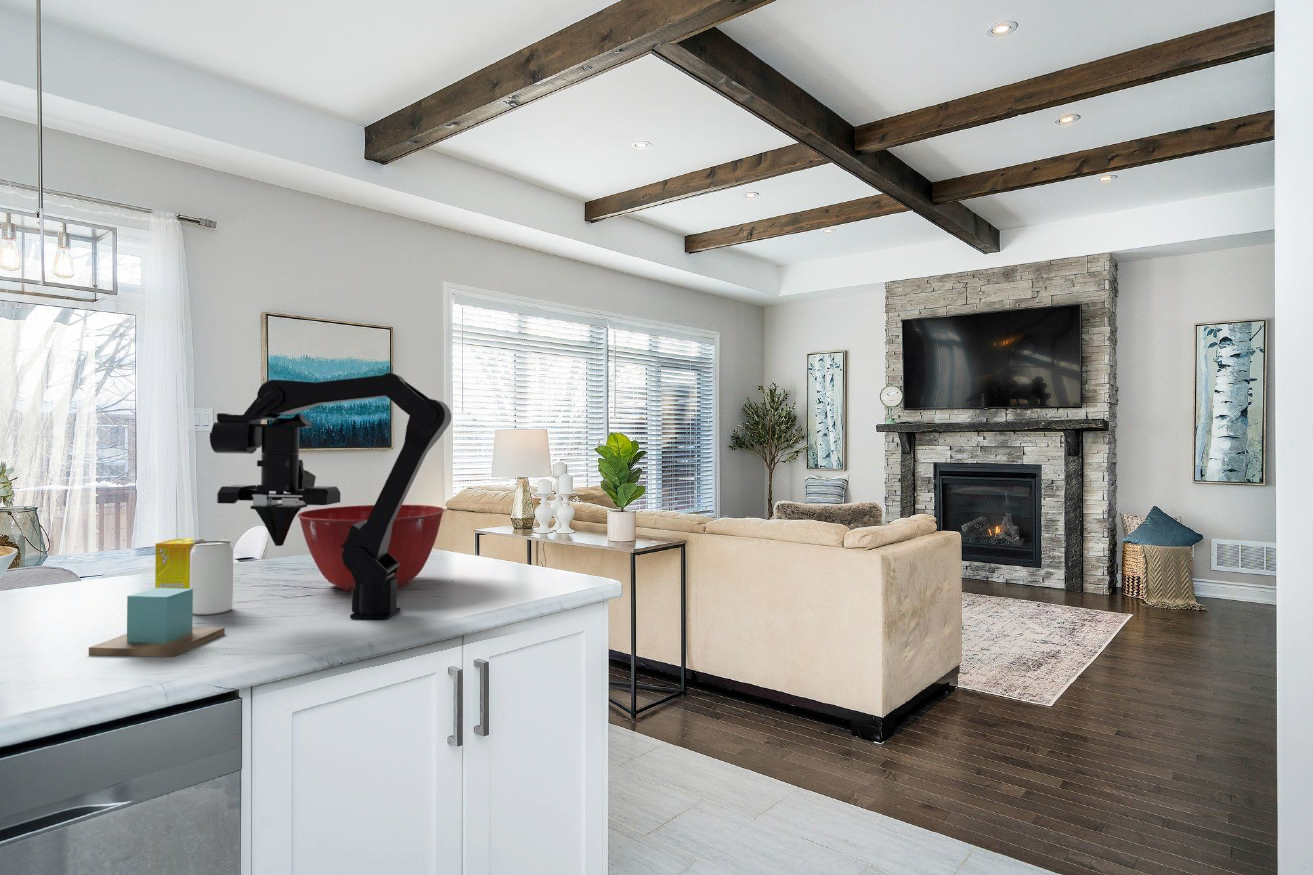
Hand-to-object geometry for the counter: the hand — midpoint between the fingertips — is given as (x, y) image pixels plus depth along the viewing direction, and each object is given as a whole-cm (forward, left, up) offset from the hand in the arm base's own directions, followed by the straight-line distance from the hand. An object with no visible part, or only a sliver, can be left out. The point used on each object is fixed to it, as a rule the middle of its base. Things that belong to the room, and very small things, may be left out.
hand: (279, 545), depth 129 cm
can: (+13, -2, -12) cm, 18 cm away
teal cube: (+8, +18, -11) cm, 22 cm away
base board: (+8, +18, -12) cm, 23 cm away
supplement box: (+24, -10, -12) cm, 29 cm away
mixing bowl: (-5, -27, -12) cm, 30 cm away
